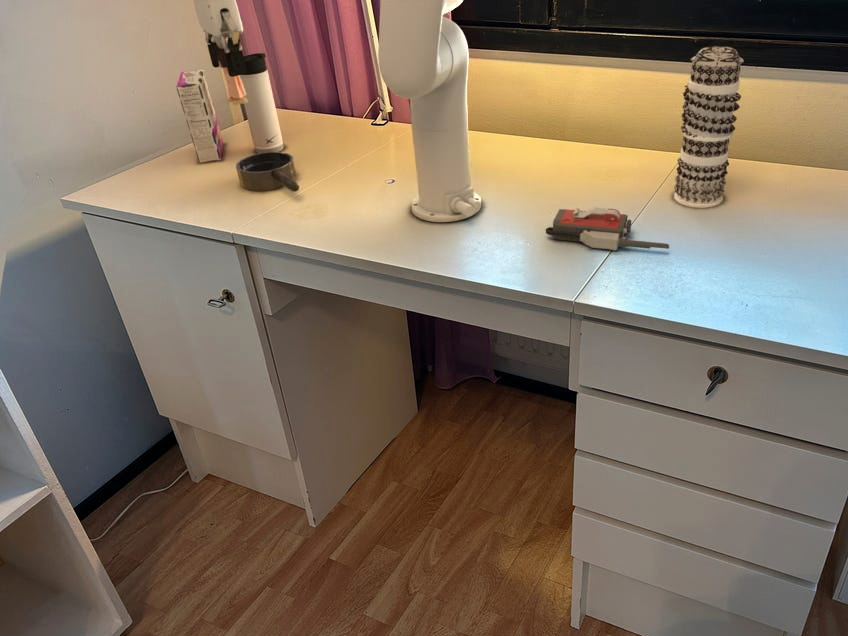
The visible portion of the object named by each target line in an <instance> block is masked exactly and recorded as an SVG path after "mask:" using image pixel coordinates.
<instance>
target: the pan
mask: <svg viewBox="0 0 848 636" xmlns="http://www.w3.org/2000/svg"><path fill="white" fill-rule="evenodd" d="M235 165H236V166H235V169H236V172H237V176H238V179H239V180H238V181H239V184H240V185H241V187H243V188H245V189H247V190H249V191H254V192H269V191H274V190H278V189H282V188H285V186H284V185H283V184H281V183H280V182H279V181H277V180H276V179H274V178H273V172H274V171H275V170H279V171H281V172H282V173H284V174H285V175H286V176H288V177H289V178H291V179H292V180H294V181H295V179H296V178H297V170H296V166H295V161H294V156H293V155H291V154H290V153H288V152H283V151H279V152H265V153H255V154H250V155H248V156H246V157H244V158H241V159H240V160H239V161H238V162H236V164H235Z"/></svg>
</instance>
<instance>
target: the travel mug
mask: <svg viewBox="0 0 848 636" xmlns="http://www.w3.org/2000/svg"><path fill="white" fill-rule="evenodd" d="M243 56H244V61H245V65H246V69H247V73H246V74H243V75H239V76H240V79H241V81H242V84H243V87H244V89H245V92H246V95H245V96H243V97H245V98H246V99H247V100H248V102H247V103H244V104H243V106H244V110H245V114H246V118H247V122H248V127H249V131H250V136H251V139H252V144H253V148H254V151H255V153H256V154H258V153H265V152H282V151H283V150H284V147H285V146H284V142H283V137H282V131H281V127H280V122H279V117H278V113H277V108H276V104H275V98H274V93H273V90H272V85H271V80H270V75H269V71H268V67H267V63H266V57H267V56H266V53H265V52H257V53H252V54H247V55H243Z"/></svg>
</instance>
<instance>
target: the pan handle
mask: <svg viewBox="0 0 848 636" xmlns="http://www.w3.org/2000/svg"><path fill="white" fill-rule="evenodd" d="M273 178H274V179H276V180H277V181H279V182H280V183H281V184H283V185H284V187H286V188H287V189H288V190H290V191H292V192H293V193H296V192H298V191H299V190H300V185H299V183H298V182H296V181H295V179H294V180H292V179H291V178H289V177H288V176H286V175H285V174H284V173H282V172H281V171H279V170H275V171H274V172H273Z"/></svg>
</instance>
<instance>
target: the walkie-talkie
mask: <svg viewBox="0 0 848 636" xmlns="http://www.w3.org/2000/svg"><path fill="white" fill-rule="evenodd" d="M631 229H632V219H628V214H626V213H620V211H619V210H618V209H615V208H605V207H595V206H594V207H591V208H590V209H588V210H580V208H579V207H575V209H569V208H561V209H560V208H559V209H558V210H557V213H556V215H555V217H554V218H553V222H552V226H549V227H547V228H545V234H546V235H548V236H552V238H553V239H555V240H558V241H568V242H578V243H583V244H584V245H586V246H588V247H589V248H594V249H604V250H610V251H617V250H618V247H620V248H626V247H630V248H640V249H651V248H654V249H665V250H666V249H667V250H668V249H670V244H669V243H664V242H656V241H655V242H654V241H646V240H645V241H644V240H632V239H627V237H626V236H625V235H627V234H628V233H629V234H630V233H631Z"/></svg>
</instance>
